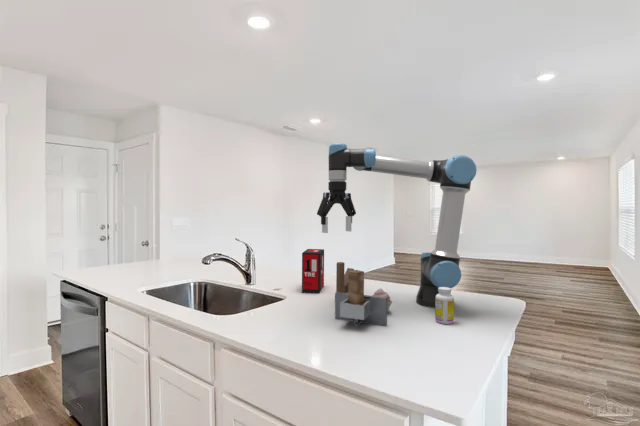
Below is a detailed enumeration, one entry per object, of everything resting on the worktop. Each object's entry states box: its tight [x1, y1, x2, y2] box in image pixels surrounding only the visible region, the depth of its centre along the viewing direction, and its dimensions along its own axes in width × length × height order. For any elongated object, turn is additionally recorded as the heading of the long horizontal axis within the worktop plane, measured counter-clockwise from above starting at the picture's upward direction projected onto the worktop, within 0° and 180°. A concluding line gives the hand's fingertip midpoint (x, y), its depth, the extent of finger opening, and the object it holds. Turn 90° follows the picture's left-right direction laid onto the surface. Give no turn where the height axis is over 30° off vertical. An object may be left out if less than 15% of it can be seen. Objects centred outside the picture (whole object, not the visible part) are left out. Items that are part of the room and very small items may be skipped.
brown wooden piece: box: [335, 261, 355, 293], centre depth 168 cm, size 4×11×18 cm, turn 143°
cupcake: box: [371, 287, 393, 315], centre depth 149 cm, size 9×9×10 cm
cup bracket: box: [334, 291, 388, 327], centre depth 134 cm, size 20×11×10 cm, turn 66°
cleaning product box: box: [301, 248, 325, 295], centre depth 188 cm, size 16×9×20 cm, turn 172°
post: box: [348, 269, 365, 305], centre depth 133 cm, size 4×4×15 cm
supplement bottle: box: [434, 287, 455, 325], centre depth 138 cm, size 7×7×13 cm
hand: (337, 232), depth 153 cm, fingers open, 13 cm apart
